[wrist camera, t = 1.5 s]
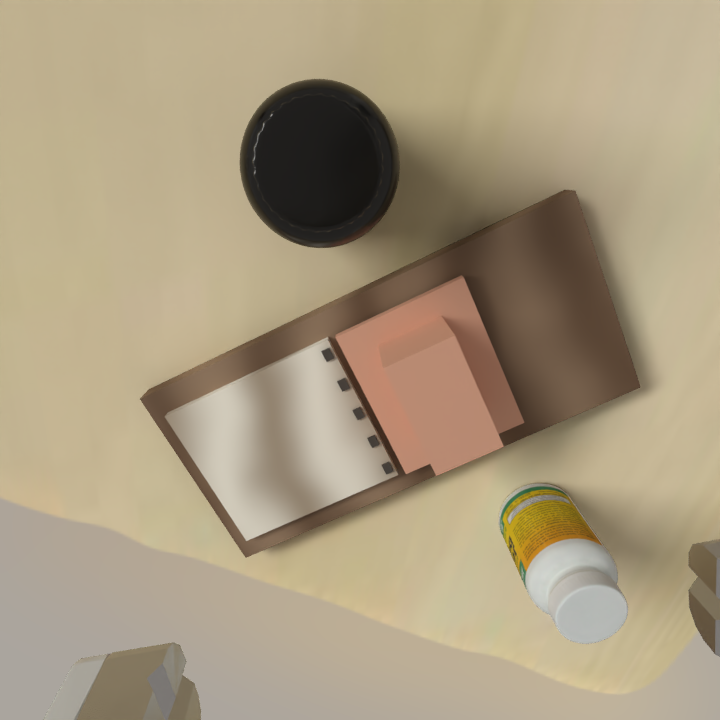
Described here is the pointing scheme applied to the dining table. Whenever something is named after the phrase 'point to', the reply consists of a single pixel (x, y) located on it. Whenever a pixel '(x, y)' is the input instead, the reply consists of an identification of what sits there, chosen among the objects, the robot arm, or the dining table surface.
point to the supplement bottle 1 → (319, 163)
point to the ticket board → (347, 400)
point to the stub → (433, 379)
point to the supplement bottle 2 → (563, 563)
